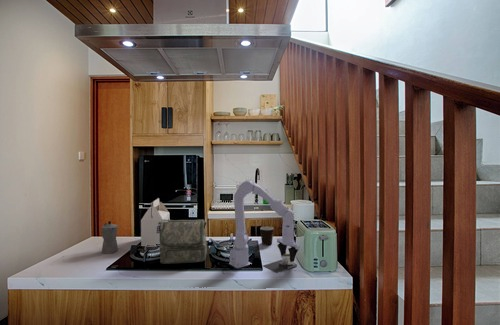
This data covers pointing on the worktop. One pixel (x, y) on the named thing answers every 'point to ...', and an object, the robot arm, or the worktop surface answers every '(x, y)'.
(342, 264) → the worktop surface
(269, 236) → the coffee mug
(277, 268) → the mat
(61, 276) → the worktop surface
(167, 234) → the lunch bag
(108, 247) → the coffeepot
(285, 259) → the ring
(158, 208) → the gable box
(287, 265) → the doorknob
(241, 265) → the robot arm
